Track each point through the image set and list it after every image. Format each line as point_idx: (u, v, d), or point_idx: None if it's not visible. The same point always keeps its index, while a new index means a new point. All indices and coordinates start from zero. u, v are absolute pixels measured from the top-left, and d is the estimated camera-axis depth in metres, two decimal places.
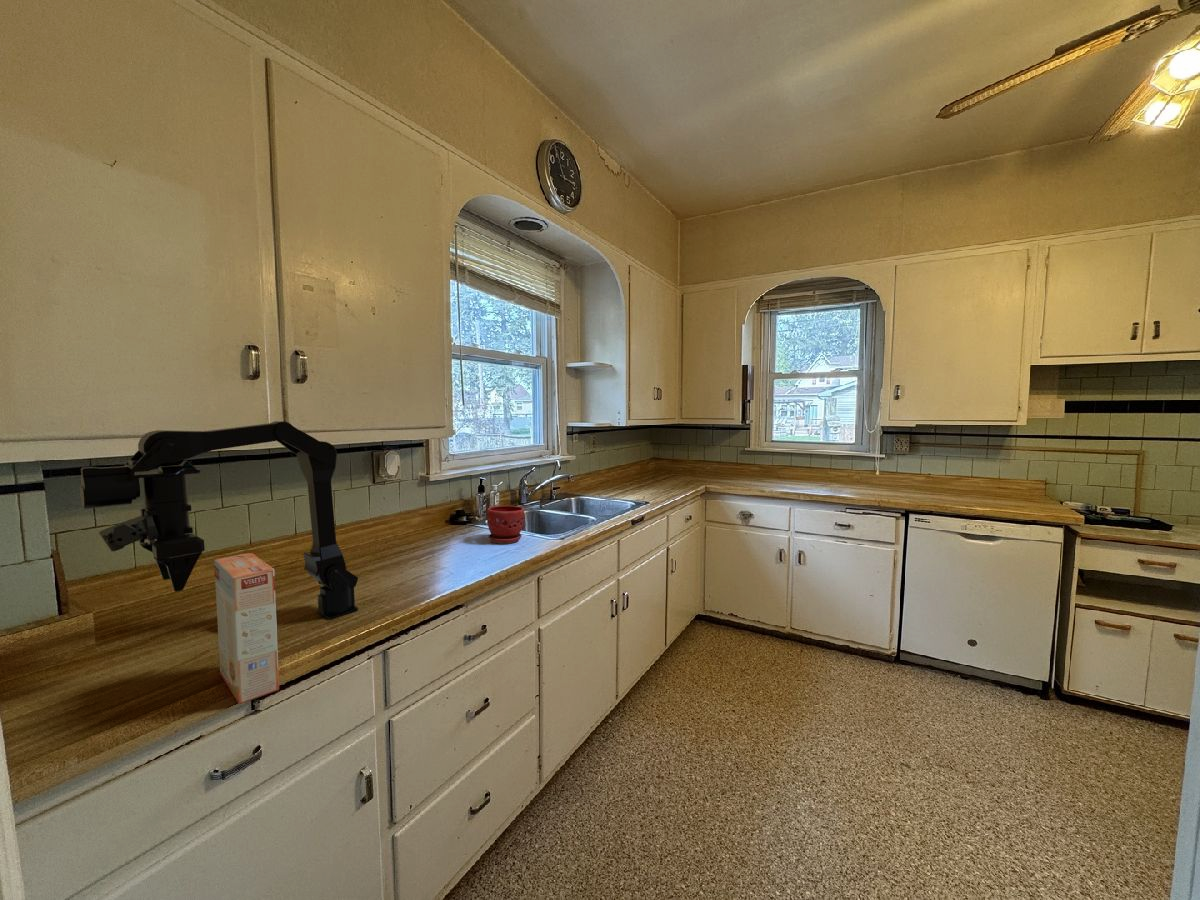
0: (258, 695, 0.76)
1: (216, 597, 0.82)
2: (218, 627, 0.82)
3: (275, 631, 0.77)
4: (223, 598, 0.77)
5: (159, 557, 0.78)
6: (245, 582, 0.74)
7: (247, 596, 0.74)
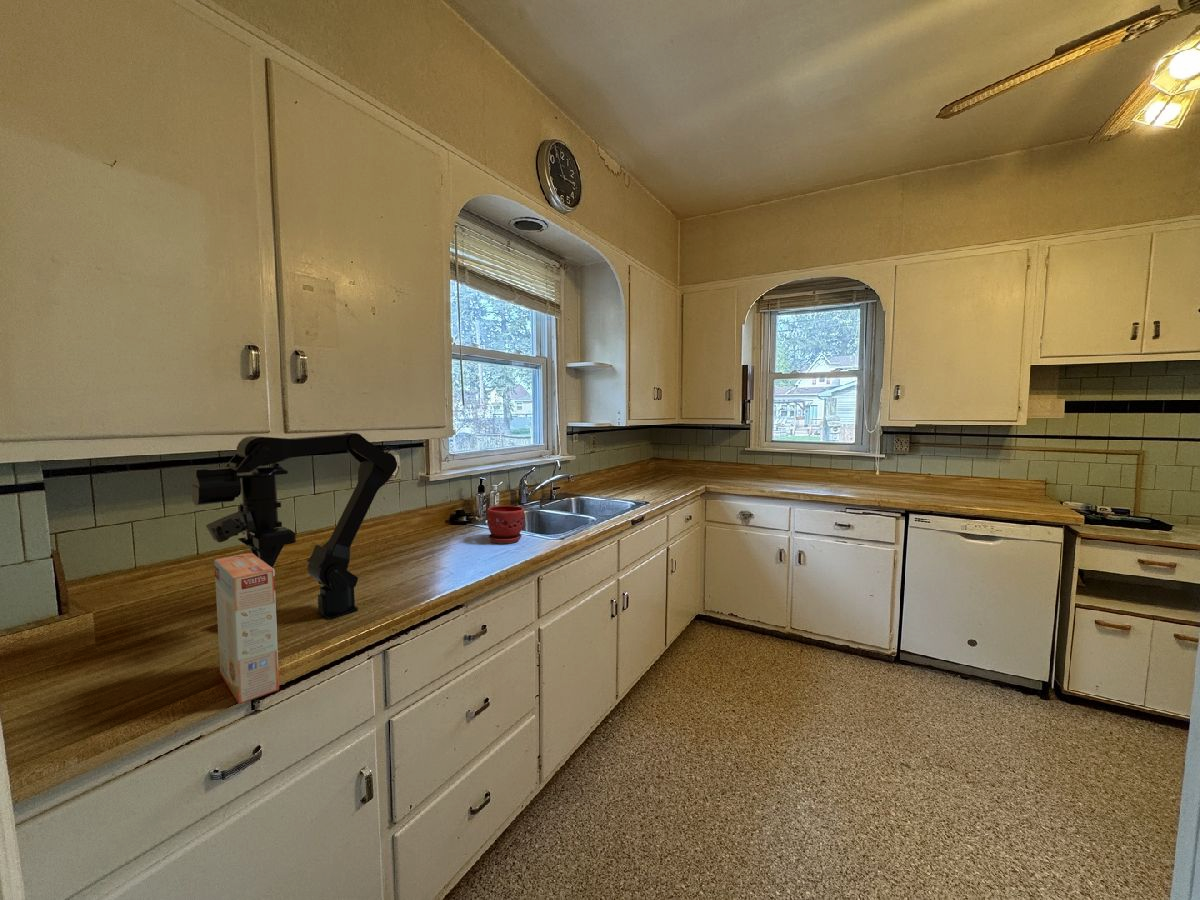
0: (258, 695, 0.76)
1: (216, 597, 0.82)
2: (218, 627, 0.82)
3: (275, 631, 0.77)
4: (223, 598, 0.77)
5: (261, 547, 0.89)
6: (245, 582, 0.74)
7: (247, 596, 0.74)
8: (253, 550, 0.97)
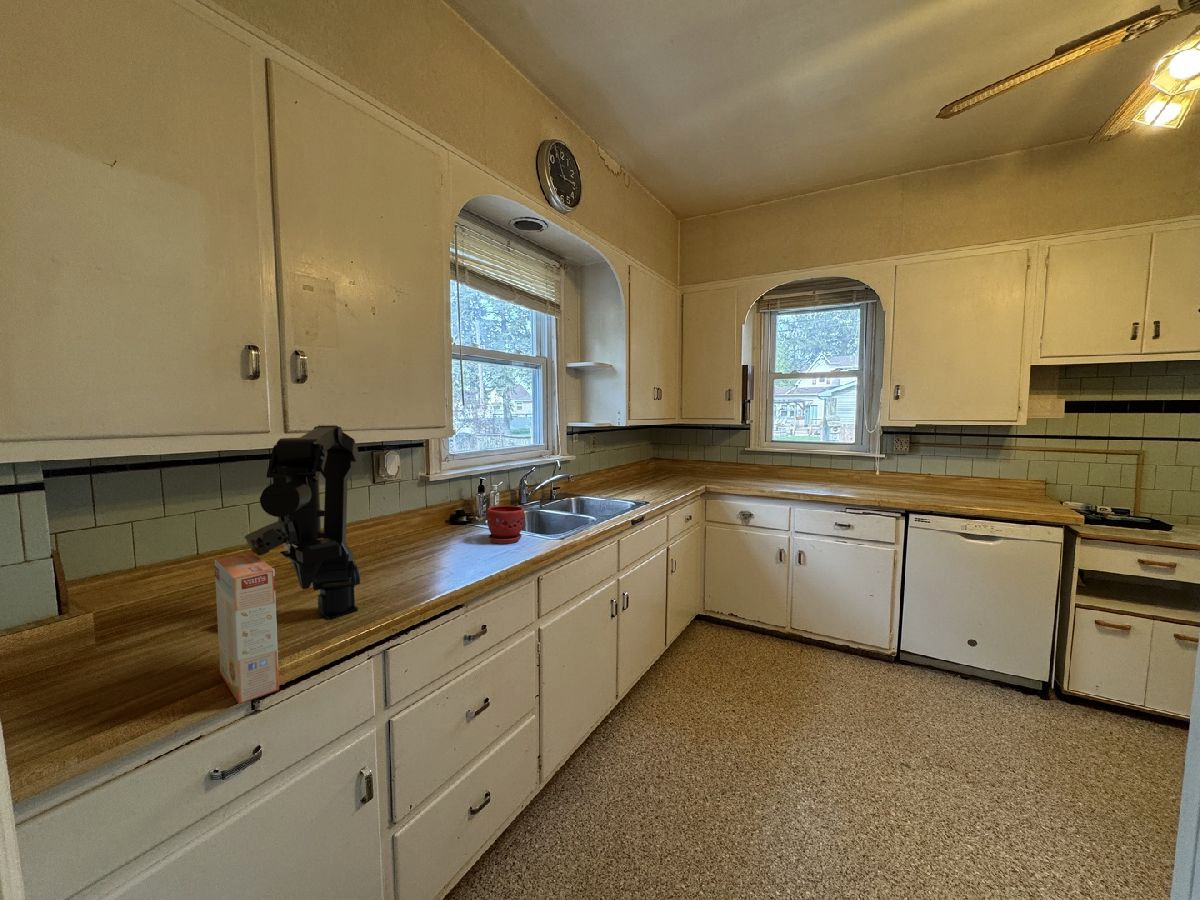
0: (258, 695, 0.76)
1: (216, 597, 0.82)
2: (218, 627, 0.82)
3: (276, 631, 0.77)
4: (223, 598, 0.77)
5: (305, 561, 0.80)
6: (245, 582, 0.74)
7: (247, 596, 0.74)
8: (296, 565, 0.87)
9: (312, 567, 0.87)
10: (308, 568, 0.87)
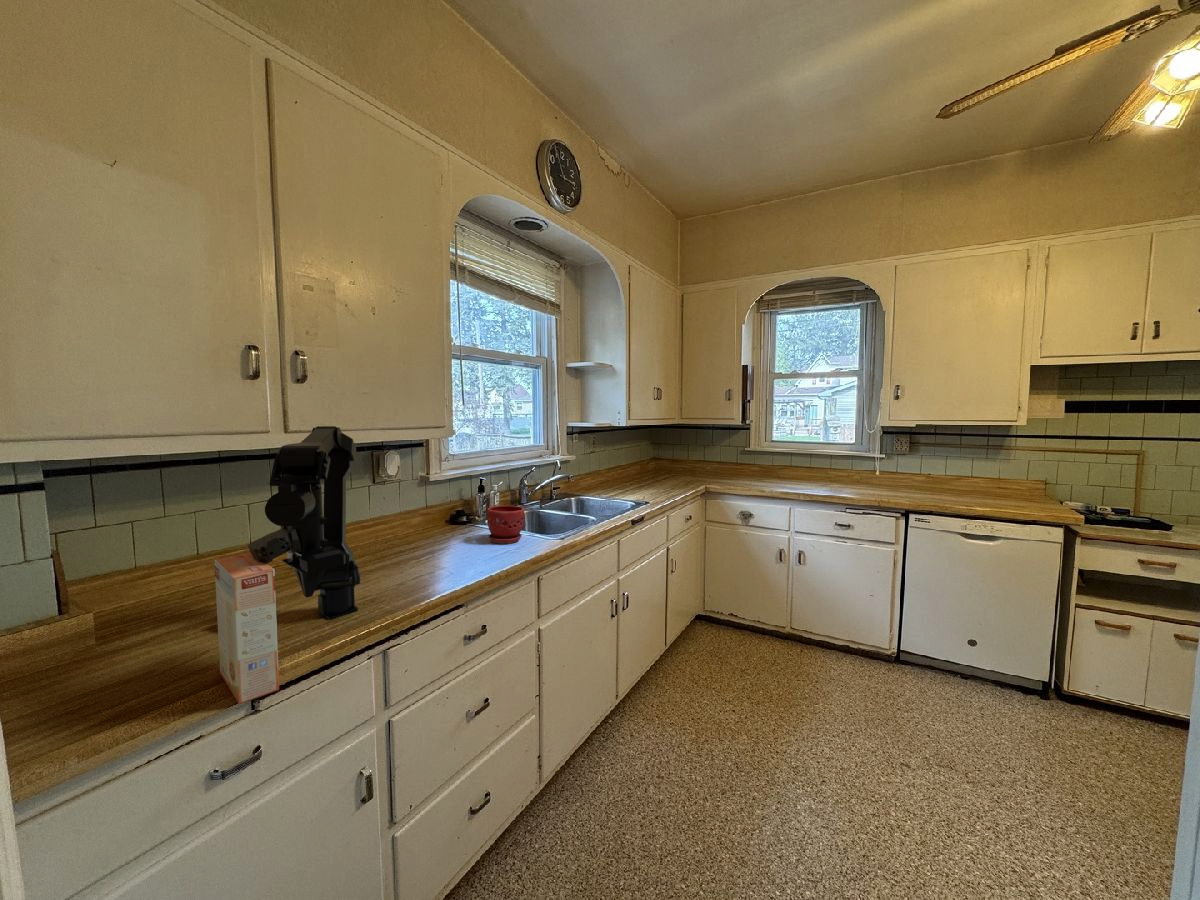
0: (258, 695, 0.76)
1: (216, 597, 0.82)
2: (218, 627, 0.82)
3: (276, 631, 0.77)
4: (223, 598, 0.77)
5: (310, 570, 0.79)
6: (245, 582, 0.74)
7: (247, 596, 0.74)
8: (299, 573, 0.86)
9: (315, 575, 0.87)
10: (311, 576, 0.86)
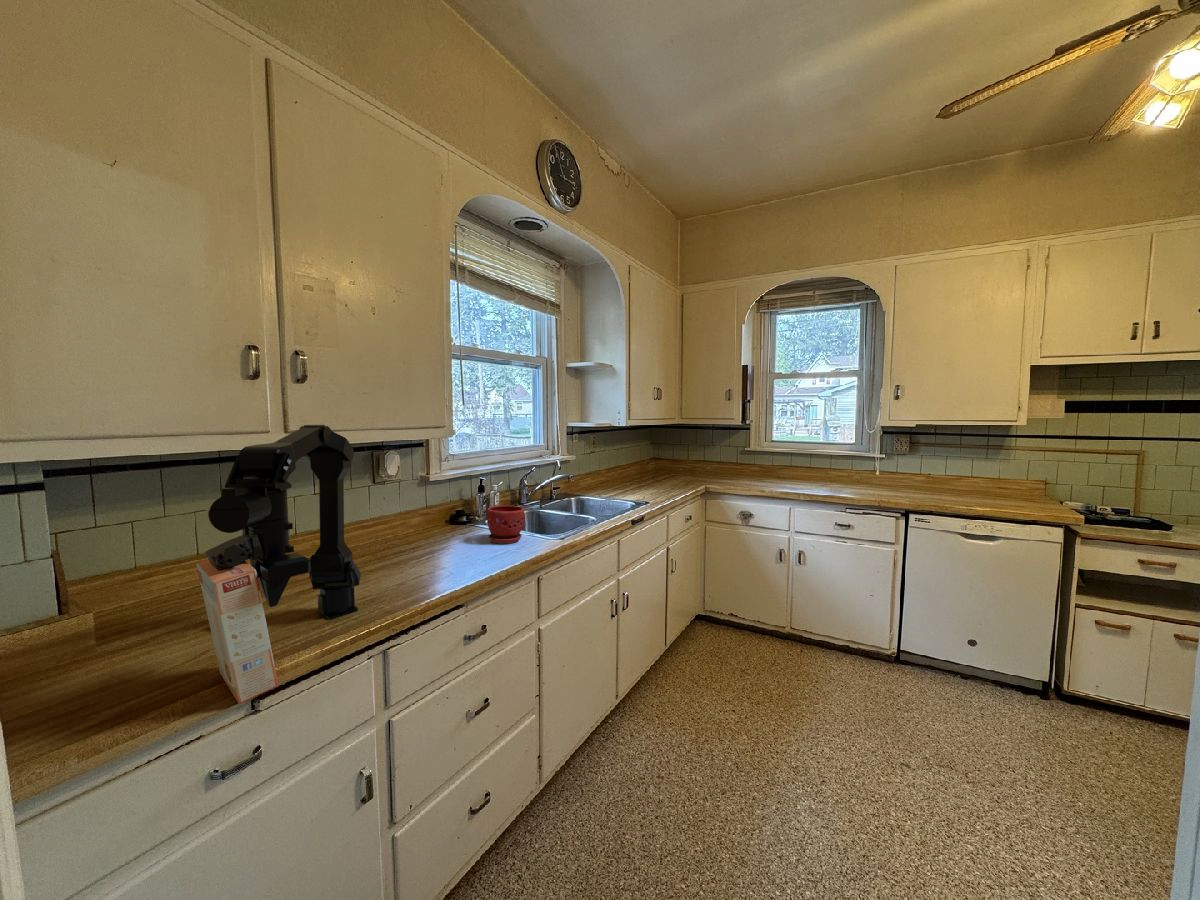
0: (257, 693, 0.76)
1: (204, 600, 0.81)
2: (211, 629, 0.81)
3: (266, 630, 0.76)
4: (209, 602, 0.76)
5: (270, 579, 0.74)
6: (227, 585, 0.72)
7: (231, 599, 0.73)
8: (262, 581, 0.82)
9: (280, 583, 0.82)
10: (275, 584, 0.82)
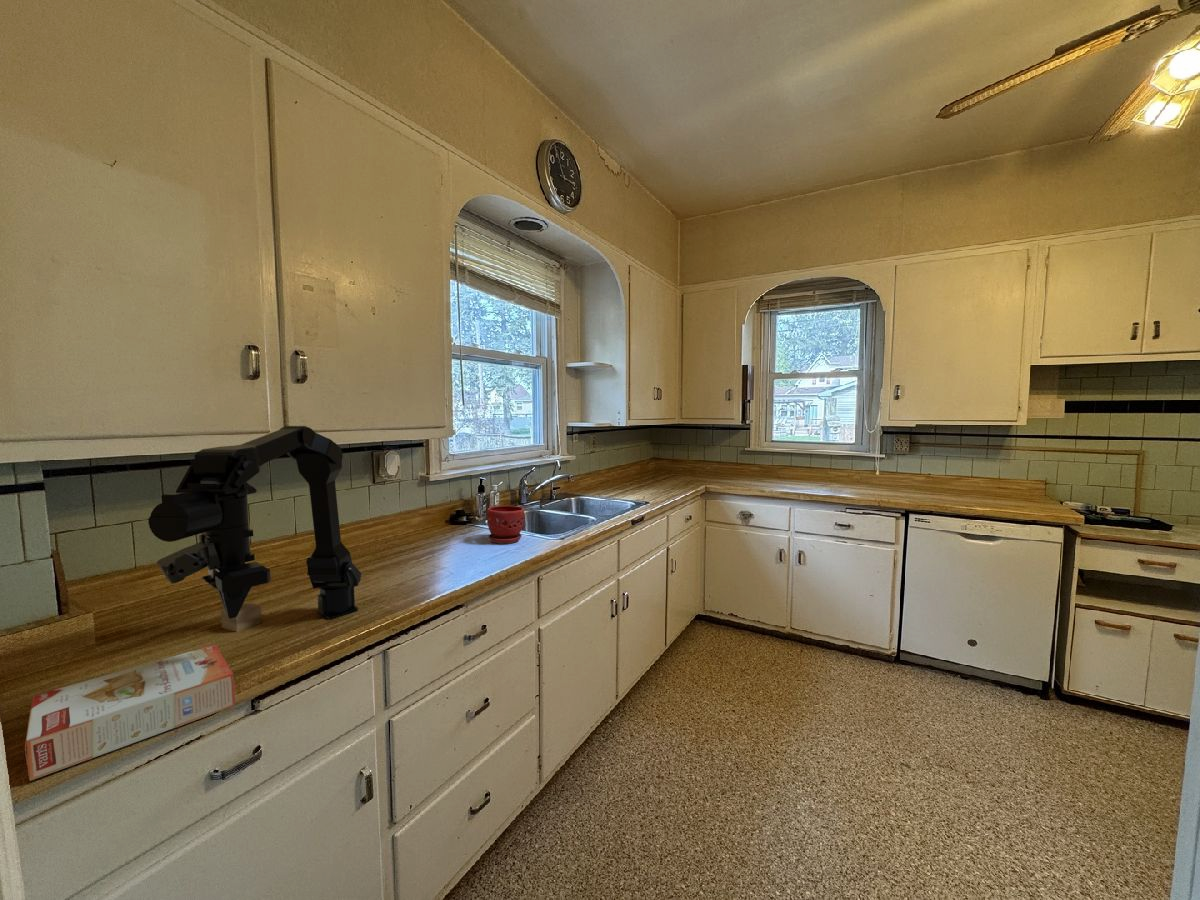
0: (230, 691, 0.73)
1: None
2: None
3: (142, 703, 0.66)
4: None
5: (225, 590, 0.70)
6: (43, 764, 0.59)
7: (71, 753, 0.61)
8: (221, 591, 0.77)
9: (239, 594, 0.78)
10: (234, 595, 0.77)
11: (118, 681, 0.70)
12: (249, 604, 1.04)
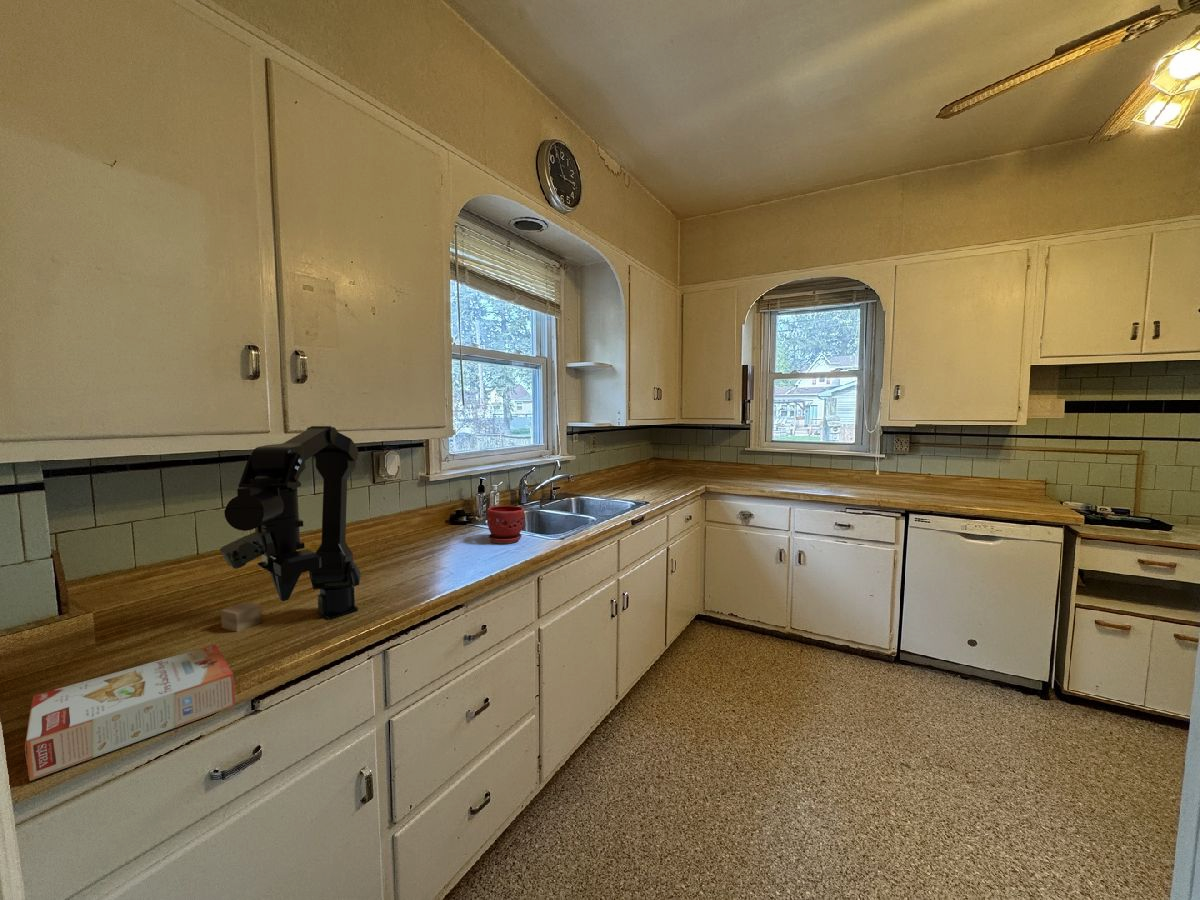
0: (230, 691, 0.73)
1: None
2: None
3: (142, 703, 0.66)
4: None
5: (283, 575, 0.78)
6: (43, 764, 0.59)
7: (71, 753, 0.61)
8: (275, 576, 0.85)
9: (291, 578, 0.85)
10: (287, 580, 0.85)
11: (118, 681, 0.70)
12: (249, 604, 1.04)
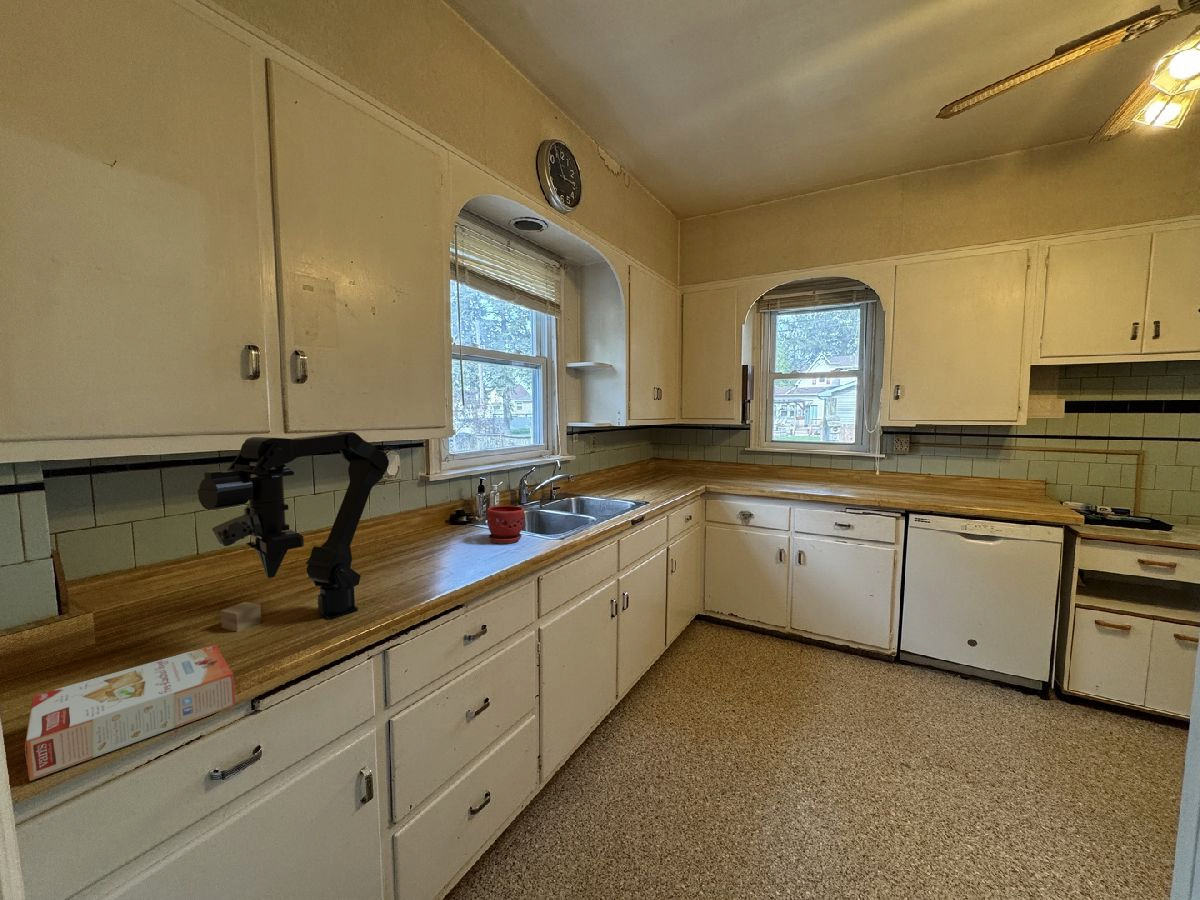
0: (230, 691, 0.73)
1: None
2: None
3: (142, 703, 0.66)
4: None
5: (268, 551, 0.86)
6: (43, 764, 0.59)
7: (71, 753, 0.61)
8: (262, 555, 0.94)
9: (277, 557, 0.94)
10: (273, 558, 0.94)
11: (118, 681, 0.70)
12: (249, 604, 1.04)
